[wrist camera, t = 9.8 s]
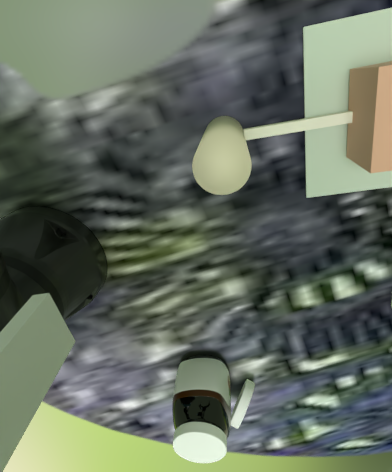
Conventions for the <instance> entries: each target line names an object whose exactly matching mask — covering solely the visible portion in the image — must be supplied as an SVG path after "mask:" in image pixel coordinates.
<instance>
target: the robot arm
mask: <svg viewBox="0 0 392 472" xmlns="http://www.w3.org/2000/svg"><path fill="white" fill-rule="evenodd" d="M106 274H107V263H106V258H105V254H104V251H103V249H102V247H101V245H100V243H99V242H98V240H97V239H96V237H95V236H94V235H93V234H92V232H91V231H90V230H89V229H88V228H87V227H86V226H84V225H83V224H82V223H81V222H79V221H78V220H77V219H75V218H73V217H72V216H70V215H68V214H66V213H64V212H61V211H59V210H56V209H52V208H47V207H26V208H22V209H19V210H16V211H14V212H13V213H11V214H9V215H8V216H6V217H5V218H3V219H1V220H0V472H3V470H4V468H5V466H6V465H7V463H8V461H9V459H10V457H11V456H12V454H13V452H14V450H15V448H16V447H17V445H18V443H19V441H20V439H21V438H22V436H23V434H24V432H25V431H26V429H27V427H28V425H29V423H30V421H31V420H32V418H33V416H34V414H35V413H36V411H37V409H38V407H39V406H40V404H41V402H42V400H43V398H44V397H45V395H46V393H47V391H48V389H49V388H50V386H51V384H52V382H53V381H54V379H55V377H56V375H57V373H58V372H59V370H60V368H61V366H62V364H63V363H64V361H65V359H66V357H67V356H68V354H69V352H70V350H71V348H72V347H73V345H74V343H75V340H74V338H73V336H72V334H71V332H70V331H69V329H68V327H67V325H66V323H65V320H67V319H68V318H69V317H71V316H72V315H74V314H75V313H76V312H78V311H79V310H81V309H82V308H83V307H85V306H86V305H88V304H89V303H90V302H91V301H92V300H93V299H94V298H95V297H96V295H97V294H98V292H99V290H100V289H101V287H102V285H103V284H104V281H105V278H106ZM391 307H392V302H391Z"/></svg>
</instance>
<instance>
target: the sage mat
mask: <svg viewBox="0 0 392 472" xmlns="http://www.w3.org/2000/svg"><path fill="white" fill-rule="evenodd" d="M303 59H304V112H305V118H309V117H315V116H321V115H327V114H333V113H339V112H344V111H348V105H349V81H350V69H353V68H358V67H363V66H369V65H374V64H379V63H384V62H389V61H392V8H388V9H384V10H379V11H375V12H370V13H366V14H361V15H356V16H352V17H347V18H343V19H338V20H334V21H329V22H324V23H320V24H315V25H311V26H306V27H303ZM347 130H348V124H342V125H336V126H330V127H324V128H318V129H312V130H305V165H306V198H310V197H317V196H325V195H333V194H340V193H348V192H356V191H363V190H371V189H379V188H387V187H392V171H385V172H377V173H369V172H368V171H366V170H365V169H363V168H362V167H360V166H359V165H357V164H356V163H354V162H353V161H351V160H350V159H349V158H347V157H346V154H347Z"/></svg>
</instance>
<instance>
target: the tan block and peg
mask: <svg viewBox="0 0 392 472" xmlns="http://www.w3.org/2000/svg"><path fill="white" fill-rule="evenodd" d="M342 124H348V130H347V154H346V157H347V158H349V159H350V160H351V161H353V162H354V163H356V164H357V165H359V166H360V167H362V168H363V169H365V170H366V171H368V172H369V173H377V172H385V171H392V61H389V62H384V63H379V64H374V65H369V66H363V67H358V68H353V69H350V81H349V105H348V111H344V112H339V113H333V114H327V115H321V116H315V117H309V118H304V119H298V120H292V121H286V122H280V123H275V124H269V125H263V126H257V127H251V128H245V129H242V126H241V125H240V123H239V122H238V121H237V120H236V119H234V118H232V117H229V116H220V117H217V118H215V119H213V120H212V121H211V122H210V123H209V124H208V126H207V128H206V130H205V132H204V135H203V137H202V139H201V142H200V144H199V146H198V148H197V151H196V153H195V155H194V158H193V163H192V169H193V174H194V177H195V179H196V181H197V183H198V184H199V185H200V186H201V187H202V188H203V189H204V190H206V191H208V192H210V193H212V194H216V195H227V194H231V193H233V192H235V191H237V190H239V189H240V188H241V187H242V186H243V185H244V184H245V183H246V182H247V180H248V178H249V176H250V172H251V158H250V154H249V151H248V147H247V143H246V140H251V139H257V138H263V137H269V136H275V135H281V134H287V133H293V132H299V131H305V130H312V129H318V128H324V127H330V126H336V125H342Z"/></svg>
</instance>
